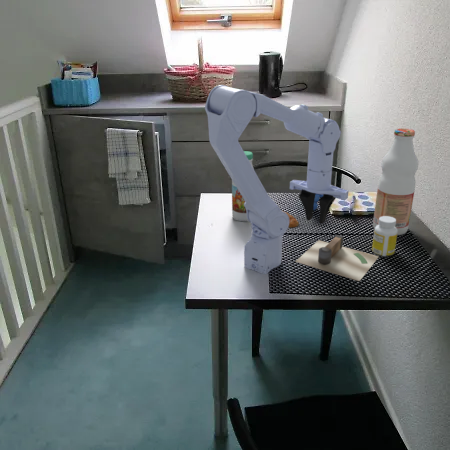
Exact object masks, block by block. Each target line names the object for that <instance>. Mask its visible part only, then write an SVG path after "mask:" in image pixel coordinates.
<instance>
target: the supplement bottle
mask: <svg viewBox="0 0 450 450" xmlns="http://www.w3.org/2000/svg"><path fill="white" fill-rule="evenodd" d="M378 224H379V225H377V226H376V227H375V229H374V231H373V238H372V239H373V240H372V245H371V251H372V253H374V255H376V256H379V257H392V256H393V255H395V251H396V245H397V240H398V239H397V237H398V235H397V232H398V231H397V228H396V227H395V225H396V219H395V218H393V217H390V216H382V217H380V218H379V221H378Z"/></svg>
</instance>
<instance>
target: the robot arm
mask: <svg viewBox="0 0 450 450" xmlns="http://www.w3.org/2000/svg"><path fill="white" fill-rule="evenodd" d="M204 110H205V113H206V116H207V123H208V125H207V126H208V127H207V128H208V139H209V140H208V141H209V143H210V145H211V148H212V149H213V150H214V152H215V154H216V156H217V157H218V159H219V160H220V162H221V164H222V165H223V167H224V169H225V170H226V172H227V174H228V176H229V177H230V178H231V181H232V180H233V182H234V184H235V185H236V187H237V189H238V190H239V192H240V194H241V195H242V197H243V199H244V200H245V203H244V206H245V208H246V212H247V219H248V220H249V221H248V222H249V223H250V224H251V226H250V227H251V235H250V238H249V240H247V242H246V243H245V245H244V248H243V250H244V251H243V252H244V253H243V254H244V260H243V261H244V262H243V263H244V268H245V269H249V270H252V271H254V272H256V273H257V272H258V273H260V274H263V275H267V274H268V273H269V272H270V271H271V270H273V269H274V268H277V267H279V266H280V265H281V264H282V258H283V257H282V254H283V253H282V252H283V236H284V235H285V233H286V232H287V230H288V229H289V227H288V226H289V216H288V215H287V214H286V213H285V212H286V211H284V210H281V208H280V207H279V206H278V204H277V203H276V202H275V201H274V200H273V198H271V197H270V196H269V194H268V192H267V190H266V189H265V187H264V185H263V184H262V182H261V180H260V178H259V176H258V174H257V172H256V171H255V168H254V167H252V165H253V164H252V165H251V163H250V162H249V160H248V158H247V156H246V154H245V153H244V151H245V150H244V149H243V148H242V146H241V144H240V142H239V139H240V137H241V136H242V134H243V132H244V131H245V130H246V128H247V126H249V124H250V122H251V120H252V119H253V117H254V118H258V117H259V116H260V115H261V114H262V115H263V116H267V117H269V118H272V119H274V120H278V121H280V122H283V126H284V128H285V130H287V131H289V132H291V133H293V134H296V135H298V136H300V137H303V138H305V139H306V140H309V141H308V153H307V154H308V155H307V156H308V158H307V170H306V171H307V173H306V180H298V179H292V180H291V181H289V190H292V191H293V190H297V191H298V190H299V191H300V194H298V199H299V200H300V201H301V204H302V206H303V209H304V213H305V218H306V220H307V221H310V220H312V219H313V217H314V211H313V208H314V200H315V195H316V194H321V195H323V197H321V198H319V201H318V202H319V218H318V219H319V222H318V223H319V224H321V225H322V224H324V223H325V222H326V219H327V216H328V213H329V212H330V211H329V210H330V209H331V207H332V205H333V204H334V202H335V200H336V199H340V200H341V201H346V200H347V199H348V198H349V190H348V189H343V188H340V187H338V186H335V185H332V174H333V162H334V152H335V150H336V147H337V143H338V141H339V140H340V137H341V135H342V131H341V130H340V126H339V124H338V122H337V121H336V120H334V119H331V118H326V117H324V114H323V113H321V112H318V111H317V112H314V111H312V110H310V109H309V106H308V105H306V104H302V103H301V104H300V105H298V104H295V105H293V106H291V107H289V106H286V105H285V104H282V103H280V102H278V101H277V100H275V99H272V98H270V97H268V96H266V95H264V94H261V93H258V92H254V91H249V90H247V89H239V88H236V87H235V88H234V87H231V86H228V85H225V84H217V85H216V86H215V87H213V88H212V89H211V90H210V92H209V94H208V96H207V99H206V101H205V105H204ZM253 168H254V169H253ZM283 211H284V212H283Z"/></svg>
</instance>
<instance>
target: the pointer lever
mask: <svg viewBox="0 0 450 450" xmlns="http://www.w3.org/2000/svg"><path fill="white" fill-rule="evenodd" d="M328 243H329V244H328V245H326V246H325V247H322V248H320V249H319V255H318V262H319V263H321V264H329V263H331V258H332V257H333V256H334V255H335V254H336V253H337V252H338V251H339V250H340V249H341V248H342V247H343V244H344V236H343V235H339V234H336V235H335V237H334V238H333V239H332V240H330V242H328Z"/></svg>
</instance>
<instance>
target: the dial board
mask: <svg viewBox="0 0 450 450" xmlns="http://www.w3.org/2000/svg"><path fill="white" fill-rule="evenodd" d="M329 243H330V242H328V241H323V240H320V239H318V240H317V241H316V242H314V244H312V246H310V247H309V248H308V249H307V250H306V251H305V252H304V253H303V254H302V255H301V256H300V257H298V258H297V259H296V260H295V263H299V264H302V265H304V266H308V267H312V268H315V269H318V270H320V271H324V272H328V273H331V274H335V275H338V276H341V277H345V278H348V279H350V280H353V281H356V282H360V281H361V280H362V279H363V278H364V276H366V274H367V273H368V271H369V270H370V269H371V267H372V266H373V265H374V263H376V261H377V260H378V258H379V257H380V255H377V254H371V253H368V252H364V251H361V250H357V249H354V248H349V247H345V246H342V248H341V249H340V250H339V251H338V252H337V253H336V254H335V255H334V256H333V257H332V258H331V263H329V264H321V263H319V262H318V255H319V249H320V248H322V247H325V246H326V245H328V244H329Z"/></svg>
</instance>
